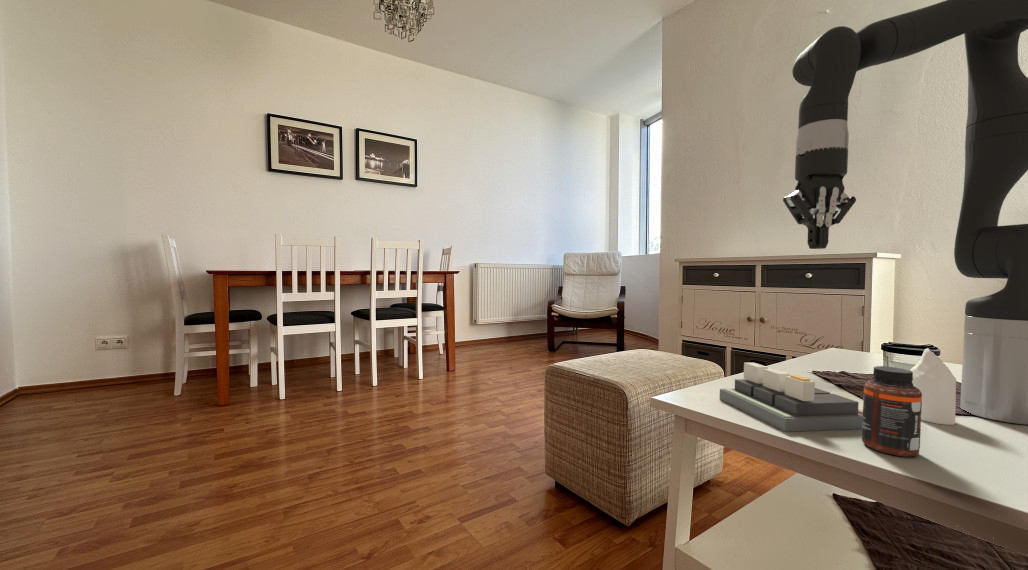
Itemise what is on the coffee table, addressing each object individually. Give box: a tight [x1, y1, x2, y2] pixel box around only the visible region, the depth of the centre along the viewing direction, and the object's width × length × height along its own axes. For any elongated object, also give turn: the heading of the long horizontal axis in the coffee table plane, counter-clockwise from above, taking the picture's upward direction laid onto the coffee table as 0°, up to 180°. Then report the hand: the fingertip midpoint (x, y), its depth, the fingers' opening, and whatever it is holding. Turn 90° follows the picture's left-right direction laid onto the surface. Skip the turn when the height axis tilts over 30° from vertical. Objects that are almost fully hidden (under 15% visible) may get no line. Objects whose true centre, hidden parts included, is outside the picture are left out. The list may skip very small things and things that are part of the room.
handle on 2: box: [763, 368, 791, 392], centre depth 71 cm, size 2×4×3 cm, turn 7°
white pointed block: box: [909, 347, 957, 426], centre depth 69 cm, size 6×12×6 cm
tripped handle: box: [785, 374, 816, 401], centre depth 66 cm, size 2×4×3 cm, turn 7°
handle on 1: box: [743, 362, 769, 383], centre depth 76 cm, size 2×4×3 cm, turn 7°
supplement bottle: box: [861, 365, 922, 458], centre depth 56 cm, size 6×6×11 cm
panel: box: [719, 378, 863, 433], centre depth 71 cm, size 16×16×4 cm
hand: (817, 248), depth 73 cm, fingers closed
